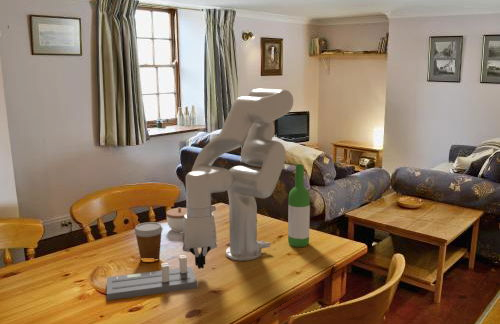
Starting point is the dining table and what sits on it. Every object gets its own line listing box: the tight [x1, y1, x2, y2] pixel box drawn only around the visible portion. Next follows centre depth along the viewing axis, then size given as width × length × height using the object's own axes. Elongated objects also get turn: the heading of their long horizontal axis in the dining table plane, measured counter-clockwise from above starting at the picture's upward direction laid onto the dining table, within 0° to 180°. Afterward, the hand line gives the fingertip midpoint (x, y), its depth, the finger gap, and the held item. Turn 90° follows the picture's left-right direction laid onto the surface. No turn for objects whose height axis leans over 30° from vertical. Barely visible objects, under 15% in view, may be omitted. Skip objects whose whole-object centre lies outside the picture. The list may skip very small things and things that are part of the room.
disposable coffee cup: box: [133, 221, 164, 260], centre depth 161 cm, size 10×10×12 cm
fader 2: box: [178, 254, 188, 273], centre depth 147 cm, size 2×2×5 cm
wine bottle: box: [287, 164, 311, 248], centre depth 172 cm, size 8×8×30 cm
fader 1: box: [160, 262, 170, 282], centre depth 141 cm, size 2×2×5 cm
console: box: [106, 266, 198, 301], centre depth 143 cm, size 26×11×2 cm, turn 106°
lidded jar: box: [165, 207, 187, 233], centre depth 190 cm, size 11×11×9 cm
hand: (200, 266), depth 149 cm, fingers closed
